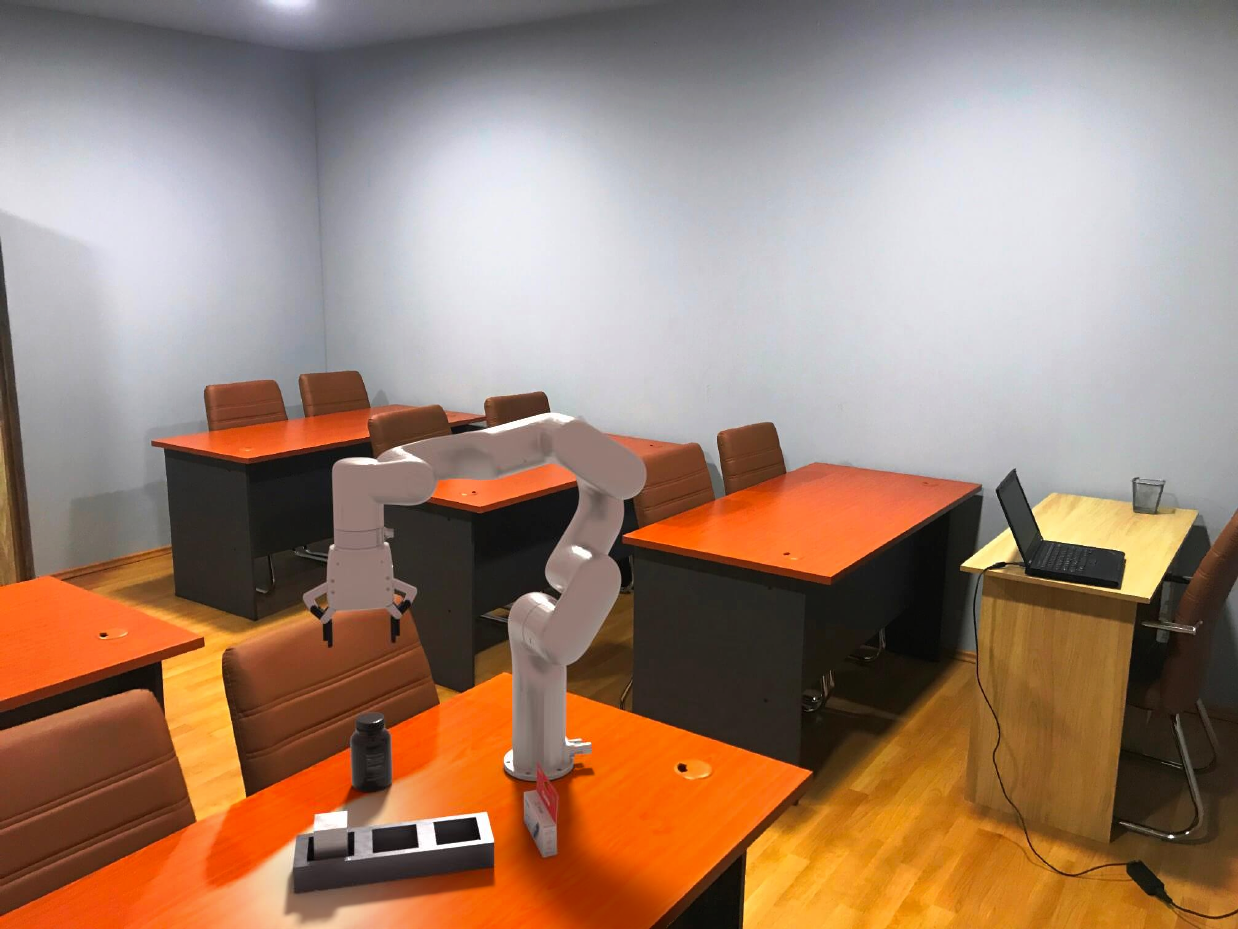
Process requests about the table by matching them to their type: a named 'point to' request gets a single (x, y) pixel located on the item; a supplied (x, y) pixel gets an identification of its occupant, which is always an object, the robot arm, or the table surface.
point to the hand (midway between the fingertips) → (362, 642)
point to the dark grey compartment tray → (397, 852)
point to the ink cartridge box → (542, 814)
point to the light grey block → (330, 835)
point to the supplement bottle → (371, 753)
